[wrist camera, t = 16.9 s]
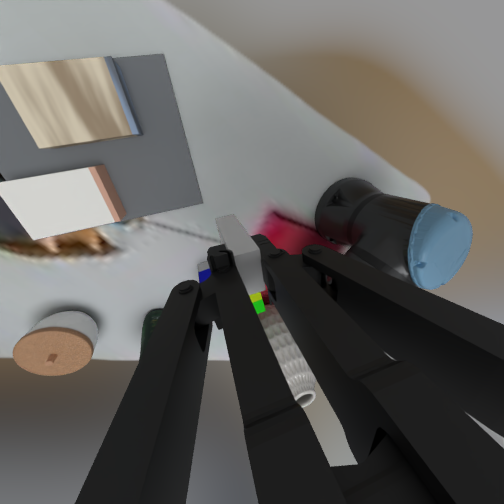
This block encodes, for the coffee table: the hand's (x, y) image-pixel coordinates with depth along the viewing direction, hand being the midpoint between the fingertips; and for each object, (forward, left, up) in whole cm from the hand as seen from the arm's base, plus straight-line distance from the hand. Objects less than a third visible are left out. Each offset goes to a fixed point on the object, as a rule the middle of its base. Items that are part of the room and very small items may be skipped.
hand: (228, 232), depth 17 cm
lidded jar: (+32, +21, -25) cm, 46 cm away
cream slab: (+14, -2, -22) cm, 26 cm away
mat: (+14, -8, -24) cm, 29 cm away
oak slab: (+7, -13, -22) cm, 27 cm away
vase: (-7, +36, -25) cm, 44 cm away
